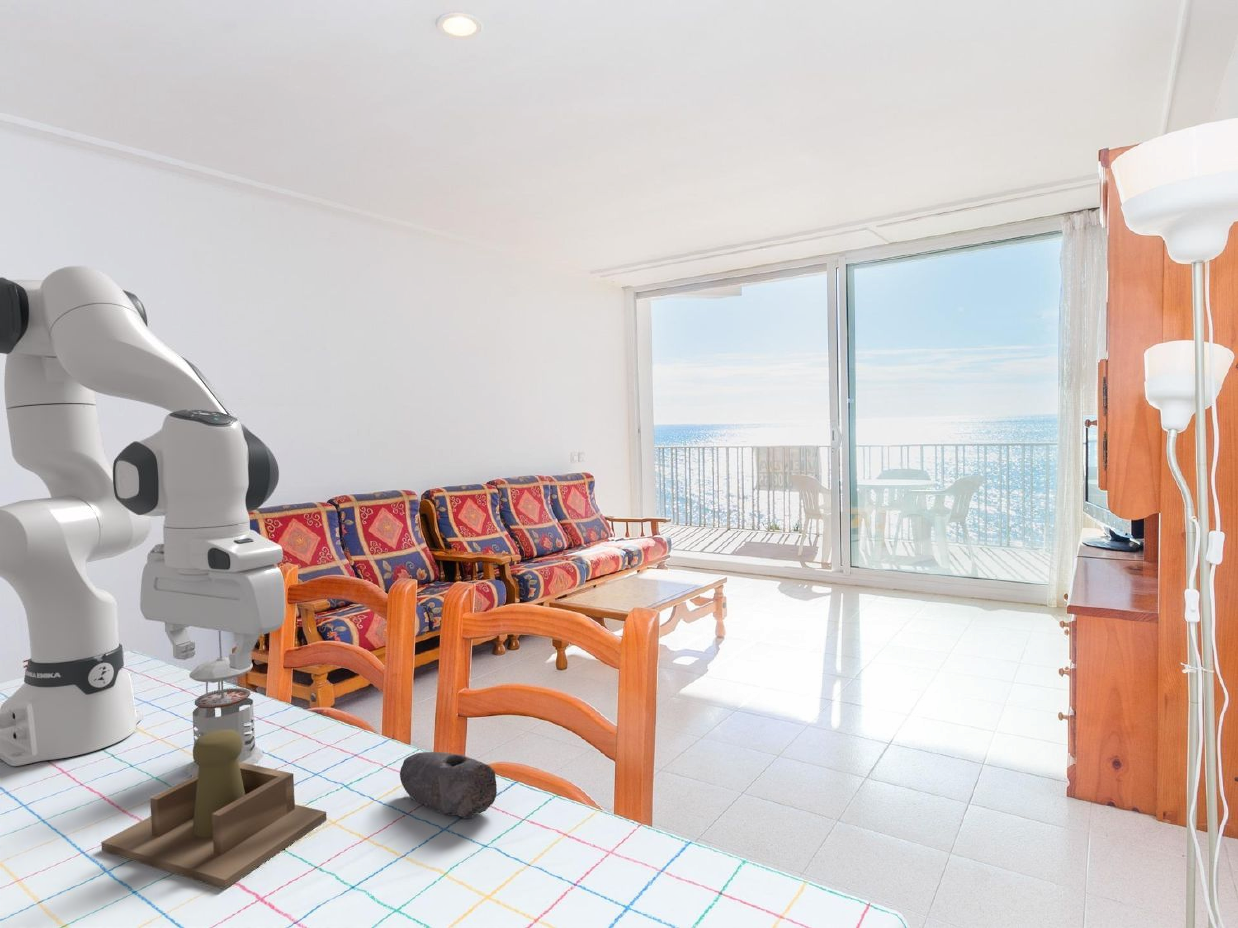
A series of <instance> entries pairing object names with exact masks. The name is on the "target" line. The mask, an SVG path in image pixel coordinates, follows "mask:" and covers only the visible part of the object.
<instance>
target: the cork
mask: <svg viewBox="0 0 1238 928" xmlns="http://www.w3.org/2000/svg"><path fill="white" fill-rule="evenodd" d="M197 739H198V738H197ZM241 751H242V739H241V736H240V735H239V733H238V732H236V731H234V730H218V731H213V732H210V733H207V734H205V735H203V736H202V737H200V738H199V739H198V740H197V741H196V743H195V745H194V744H193V748H192V758H193V761H195V763H196V764H197V765H198V766H199V770H198V780H197V790H196V800H195V810H194V821H193V834H194V835H195V836H197V837H201V838H211V837H213V827H212V814H213V813H214V812H216V811H218V810H220V809H222V808H223V807H225V806H227V805H229V804H230V803H232V802H234V801H236V800H237V799H239V798H241V797H243V796H245V791H244V786H243V781H242V776H241V771H240V767H239V762H238V756H239V755H240V753H241Z"/></svg>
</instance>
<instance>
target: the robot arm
mask: <svg viewBox="0 0 1238 928" xmlns="http://www.w3.org/2000/svg"><path fill="white" fill-rule="evenodd" d="M0 354H4V355H6V357H5V367H4V381H3V382H4V383H3V384H4V389H3V390H4V403H5V410H6V411H5V412H6V417H7V425H8V427H7V428H8V431H9V433H8V434H9V440H10V441H9V442H10V447H11V454H12V457H13V459H14V460H15V462H16V463H17V464H18V466H20V467H22V468H23V469H25V470H27V471H30V472H32V473H34V474H35V475H36V476H37V477H39V478H40V480H42V482H43V484H44V485H45V486H46V488H47V489H48V492H49V494H50V497H46V498H45V497H44V498H35V499H33V498H32V499H24V500H19V501H15V502H12V503H9V504H6V505H5V504H4V505H2V506H0V578H2V579H3V580H5V581H6V582H7V583H8V584H9V585H10V586H11V587H12V588H13V590H14V591H15V592H16V594H17V595H18V598H19V599H20V601H21V602H22V605H23V608H24V611H25V614H26V621H27V629H28V637H29V648H30V658H29V659H24V660H23V661H22V663H27V664H26V665H23V667H22V668H23V669H24V668H25V669H24V679H23V682H24V683H23V684H22V685H21V686H20V687H19V688H18V689H17V690H16V691H15V692H14V693H13V694H12V695H11V696H9V697H8V699H6V700H5V701H4V702H3V703H2V704H1V705H0V760H2V761H3V762H5V763H7V765H9V766H10V767H11V766H12V767H18V766H24V765H27V764H32V763H38V762H42V761H48V760H49V761H50V760H59V759H64V758H70V757H76V756H79V755H80V756H81V755H83V754H88V753H91V752H95V751H98V750H101V749H104V748H106V747H109V746H111V745H114V744H117V743H118V742H120V741H123V740H124V739H126V738H128V737H129V736H131V735H132V734H133V733H134V732H135V731H136V729H137V724H138V722H140V721H141V720H142V719H143V718H144V716H143V712H142V711H140V710H137V709H136V704H135V698H134V691H133V685H132V680H131V678H132V677H131V675H130V674H129V673H128V672H127V671H125V670H123V667H124V665H125V664H124V663H125V661H124V658H125V655H124V653H125V652H124V651H123V650H124V649H123V645H122V644H121V643H120V640H119V639H120V637H119V620H118V617H119V616H118V604H117V600H116V598H115V597H114V595H113V594H111V593H110V592H108V591H106V590H105V589H103V588H98V587H97V586H95V585H94V584H93V583H92V581H91V580H90V577H89V575H88V572H87V568H86V564H87V563H91V562H95V561H100V560H106V559H110V558H114V557H117V556H119V555H121V554H122V555H123V554H124V553H127V552H128V551H131V550H133V549H134V548H136V547H139V546H141V545H142V544H143V543H144V542H145V541H146V540H147V538H148V537H149V534H150V531H151V529H152V518H151V517H163V516H164V521H163V524H162V525H163V526H162V527H163V528H162V530H163V532H162V534H163V543H158V544H157V543H156V544H155V545H154V547H152V548H151V550H150V551H149V552H148V553H147V556H146V557H147V558H146V559H147V560H146V563H145V565H144V566H143V570H142V574H141V582H140V583H141V585H140V599H139V600H140V602H139V605H140V606H139V607H140V613H141V614H142V616H143V618H144V619H145V620H148V621H154V622H161V623H164V632H165V633H166V635H167V637H168V640H169V642H170V643H171V645H172V656H173V658H174V660H175V659H176V660H182V661H183V660H184V661H185V660H188V659H193V658H194V657H195V655H196V651H195V649H196V643H195V642H194V641H191V638H190V636H189V634H188V630H187V628H189V627H194V628H199V629H200V628H201V629H208V630H212V631H213V630H214V631H219V630H220V631H221V632H227V633H232V634H234V636H233V638H234V642H237V644H236V648H235V651H234V652H233V653H229V654H228V657H229V661H230V663H229V666H230V668H232V669H238V670H243V669H245V668H248V667H250V665H251V663H252V652H253V650H254V648H255V646H256V645H257V644H256V643H257V642H258V640H259V638H260V637H259V636H262V635H263V636H264V635H266V634H270V633H272V632H275V631H277V630H279V629H280V628H281V626H282V625H283V623H284V622H285V618H286V591H285V580H284V575H283V573H282V570H281V569H280V567H279V566H277V565H275V564H279V563H282V561H283V559H284V551H283V547H282V546H281V545H280V544H278V542H277V543H276V542H274V541H273V540H270V539H268V538H266V537H265V536H263V535H261V534H260V533H258V532H257V531H256V530H253V529H251V523H250V522H251V521H250V520H251V519H250V515H249V512H253V511H256V510H258V509H259V508H260V507H261V506H263V505H264V504H265V502H267V501H268V499H270V497H271V496H272V495H273V493H274V492H275V489H276V488H277V487H278V484H279V479H280V470H279V469H280V468H279V465H278V461H277V460H276V459H277V458H276V456H275V455H274V453H273V452H272V450H271V449H270V448H269V447H268V446H267V444H265V442H263V441H262V440H261V439H260V438H259V437H258V436H256V434H253V432H251V431H250V430H249V429H248V427H246V426H245V424H243V422H242V421H241V420H240V418H239V417H238V416H237V415H236V413H235V412H234V411H233V409H232V408H231V407H230V406H229V405H228V403H227V402H226V400H224V398H223V397H222V395H220V393H219V391H217V389H216V388H215V387H214V386H213V384H212V383H211V382H210V381H209V380H208V379H207V377H206V376H205V375H204V374H203V373H202V371H201V370H200V369H199V368H198V367H197V366H195V365H194V363H192V362H190V361H189V360H187V359H186V358H185V357H183V356H180V355H179V354H178V353H177V352H175V351H174V350H173V349H171V348H170V347H168V346H167V345H166V344H165V343H163V341H161V340H160V339H159V338H158V337H157V336H156V335H155V334H154V333H153V332H152V331H151V329H150V328H149V327H148V317H147V312H146V309H145V307H144V304H143V303H142V301H141V300H140V299H139V297H137V295H136V294H134V293H132V292H129V291H127V290H125V289H122V288H121V287H120V286H119V285H118V283H117V282H115V281H114V280H113V278H112V277H110V276H109V274H107V273H105V272H102V271H100V270H99V269H96V268H92V267H88V266H84V265H83V266H82V265H73V266H72V265H71V266H66V267H64V266H63V267H61V268H58V269H56V270H54V271H52V272H51V273H49V274H48V275H47V276H46V277H45V278H44V279H43V280H42V279H41V280H40V279H7V278H6V277H2V276H1V277H0ZM95 393H98V394H102V395H106V396H109V397H116V398H120V399H126V400H131V401H135V402H140V403H143V404H144V403H145V404H147V405H151V406H152V405H153V406H156V407H159V408H162V409H165V410H166V411H170V413H168V414H167V415H166V416H165V418H164V420H163V422H162V427H161V428H160V429H159V430H158V431H157V432H156V433H154V434H152V435H150V436H149V437H146V438H143V439H142V440H138V441H135V440H134V441H132V442H131V443H130V444H128V445H126V446H125V447H124V448H123V449H122V450H121V452H119V454H118V455H117V456H116V457H115V459H114V460H113V465H112V467H111V464H110V463H109V461H108V458H107V455H106V453H105V450H104V444H103V439H102V432H101V428H100V427H101V426H100V421H99V414H98V406H97V399H96V394H95Z"/></svg>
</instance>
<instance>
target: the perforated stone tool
mask: <svg viewBox="0 0 1238 928" xmlns="http://www.w3.org/2000/svg"><path fill="white" fill-rule="evenodd" d="M399 778H400V781H401V785H402V786H403V787H402V788H403V789H404V791H406V793H407V795H409V796H410V797H411V798H412V799H413V800H414V801H416V802H417V803H420V804H422V805H426V807H428V808H430V809H432V810H434V811H437V812H439V813H441V814H444V815H446V816H453V815H456V816H460V817H461V818H462V819H466V820H467V819H471V818H472V817H474V816H475V815H477V814H481V813H484V812H486V811H487V810H488V809H489V808H490V807H491V806H492V805H493V804H494V803H495V800H496V798H497V793H498V792H497V789H498V788H497V786H498V785H497V780H496V771H495V769H494V768H492V766H490V765H488V764H486V763H484V762H482V761H479V760H476V759H475V758H471V757H469V756H465V755H462V754H456V753H450V752H449V753H448V752H439V751H438V752H437V751H425V752H424V751H423V752H417V753H414V754H411V755H409V756H408V757H406V758H405V759H404V760H403V762H402V766H401V767H400V771H399Z"/></svg>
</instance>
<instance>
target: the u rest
mask: <svg viewBox="0 0 1238 928" xmlns="http://www.w3.org/2000/svg"><path fill="white" fill-rule="evenodd" d="M239 767H240V771H241V776H242V781H243V786H244V791H245V796H243V797H241V798H239V799H237V800H236V801H234V802H232V803H230V804H229V805H227V806H225V807H223V808H222V809H220V810H218V811H216V812H214V813H213V814H212V827H213V837H211V838H201V837H197V836H195V835H194V834H193V821H194V810H195V800H196V790H197V780H198V774H197V775H195V776H191V777H190V778H187V779H186V780H183V781H182V782H179V783H178V784H175V785H174V786H171V787H169V788H167V789H165V790H163V791H161V792H159V793H157V794H155V795H153V796H151V797H149V800H150V802H149V803H150V816H149V817H147V818H145V819H143V820H141V821H139V822H137V823H135V824H133V825H131V826H130V827H128V828H126V829H123V830H122V831H120V832H118V833H116V834H114V835H112V836H110V837H108V838H107V839H105V840H103V841H101V842H100V843H101V845H100V846H101V851H103V852H105V853H107V854H112V855H115V856H119V857H122V858H124V859H128V860H131V861H134V862H138V863H141V864H144V865H147V866H151V867H153V868H157V869H159V870H163V871H167V872H169V873H173V874H175V875H178V876H183V877H186V878H188V879H192V880H195V881H198V882H201V883H205V884H208V885H211V886H215V887H217V888H221V889H224V890H227V889H228V888H229V887H231V886H232V885H234V884H235V883H237V882H238V881H240V880H241V879H242V878H244V877H246V876H247V875H248V874H250V873H252V872H253V871H254V870H255V869H257V868H258V867H259V868H260V866H262V865H263V864H264V863H266V862H267V861H269V860H270V859H271V858H273V857H274V856H276V855H277V854H279V853H280V852H282V851H283V850H285V849H286V848H288V847H289V846H291V845H292V844H294V843H296V842H297V841H298V840H299V839H301V838H302V837H303V836H305V835H307V834H308V833H309V832H311V831H313V830H314V829H316V828H317V827H318V826H320V825H321V824H323V823H325V821H327V811H324V810H321V809H315V808H311V807H307V806H303V805H299V804H296V803H295V784H294V783H295V781H294V779H295V778H294V773H292V772H286V771H282V770H279V769H275V768H273V769H272V768H269V767H264V766H260V765H255V764H254V765H251V764H246V763H242V762H239Z"/></svg>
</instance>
